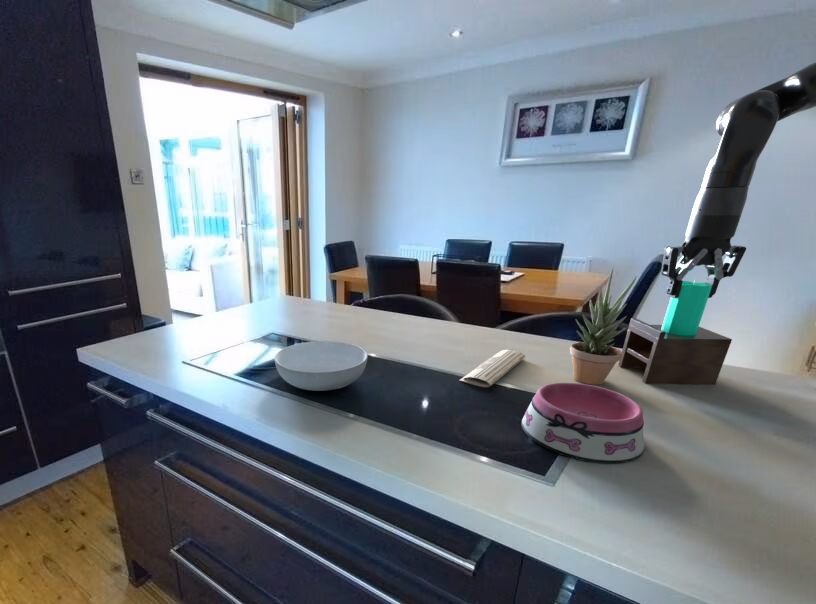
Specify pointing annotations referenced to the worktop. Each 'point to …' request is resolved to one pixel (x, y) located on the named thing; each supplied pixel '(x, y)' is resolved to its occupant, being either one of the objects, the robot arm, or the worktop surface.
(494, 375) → the newspaper
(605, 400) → the dog bowl
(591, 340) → the potted plant
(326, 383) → the serving bowl
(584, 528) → the worktop surface
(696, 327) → the candle
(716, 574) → the worktop surface
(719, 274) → the robot arm
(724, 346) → the shelf
